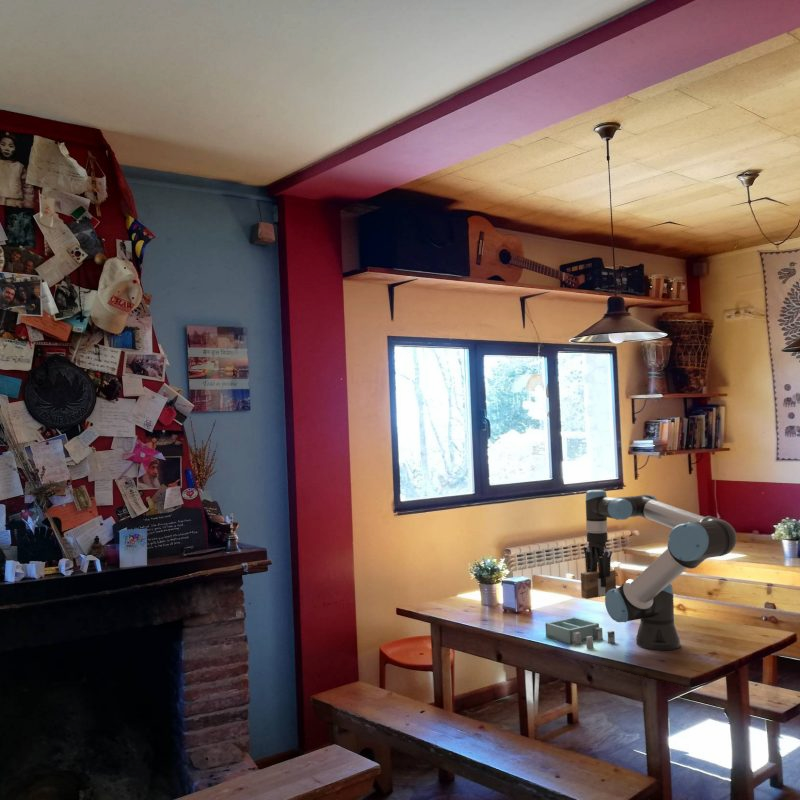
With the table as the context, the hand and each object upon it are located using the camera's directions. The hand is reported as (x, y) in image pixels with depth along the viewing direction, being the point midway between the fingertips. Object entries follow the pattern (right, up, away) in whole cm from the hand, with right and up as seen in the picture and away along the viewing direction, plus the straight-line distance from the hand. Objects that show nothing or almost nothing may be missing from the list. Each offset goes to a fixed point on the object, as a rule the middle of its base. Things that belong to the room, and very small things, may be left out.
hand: (598, 594), depth 296 cm
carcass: (-9, -17, +4) cm, 20 cm away
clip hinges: (-3, -17, -5) cm, 18 cm away
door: (0, 0, 0) cm, 0 cm away
